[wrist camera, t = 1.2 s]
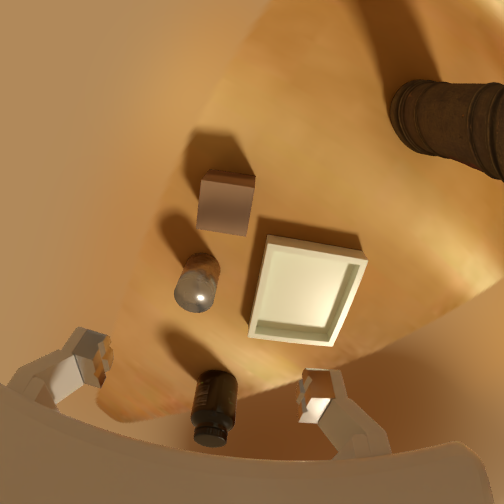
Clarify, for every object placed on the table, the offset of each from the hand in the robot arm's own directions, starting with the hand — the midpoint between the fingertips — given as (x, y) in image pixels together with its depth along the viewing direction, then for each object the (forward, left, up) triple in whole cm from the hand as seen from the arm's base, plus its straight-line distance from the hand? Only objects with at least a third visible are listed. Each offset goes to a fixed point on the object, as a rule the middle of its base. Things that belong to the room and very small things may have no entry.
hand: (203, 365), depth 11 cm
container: (-14, +19, -24) cm, 33 cm away
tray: (+11, +10, -24) cm, 28 cm away
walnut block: (0, -1, -24) cm, 24 cm away
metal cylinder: (+10, -3, -24) cm, 26 cm away
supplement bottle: (+32, +1, -24) cm, 40 cm away
